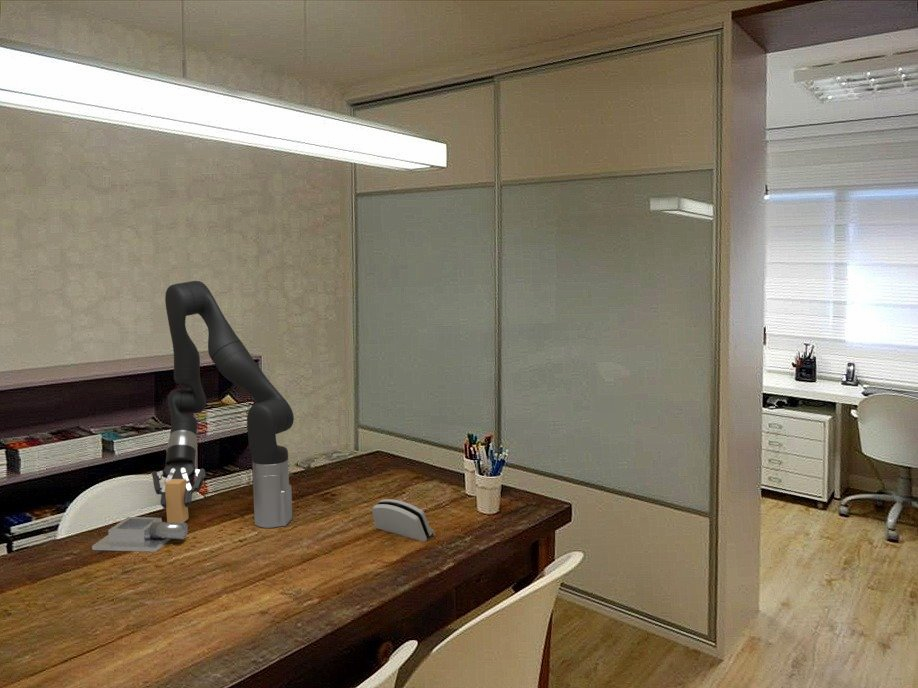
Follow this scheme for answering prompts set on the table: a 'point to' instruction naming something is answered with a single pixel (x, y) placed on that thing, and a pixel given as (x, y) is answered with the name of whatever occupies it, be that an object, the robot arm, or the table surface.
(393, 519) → the grey rounded block
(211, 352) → the robot arm
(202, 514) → the table surface
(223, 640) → the table surface
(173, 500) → the upright wooden block
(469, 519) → the table surface
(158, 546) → the bracket head
